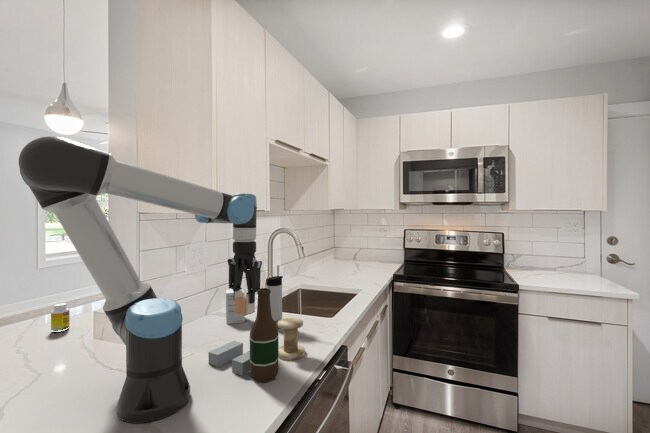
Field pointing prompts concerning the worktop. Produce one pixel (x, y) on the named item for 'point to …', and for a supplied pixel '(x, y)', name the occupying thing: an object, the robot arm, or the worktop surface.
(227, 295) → the supplement box
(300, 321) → the bobbin
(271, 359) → the beer bottle
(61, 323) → the supplement bottle
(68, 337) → the worktop surface
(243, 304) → the block
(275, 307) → the travel mug
